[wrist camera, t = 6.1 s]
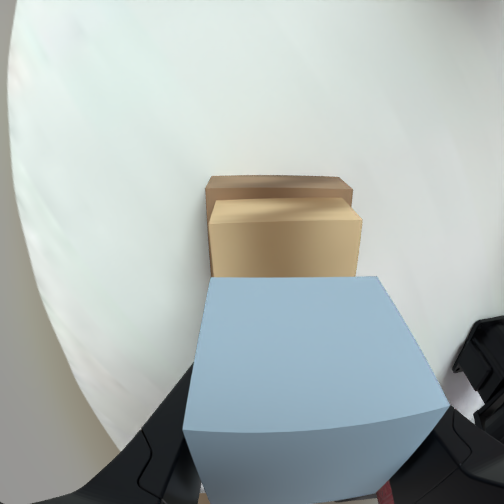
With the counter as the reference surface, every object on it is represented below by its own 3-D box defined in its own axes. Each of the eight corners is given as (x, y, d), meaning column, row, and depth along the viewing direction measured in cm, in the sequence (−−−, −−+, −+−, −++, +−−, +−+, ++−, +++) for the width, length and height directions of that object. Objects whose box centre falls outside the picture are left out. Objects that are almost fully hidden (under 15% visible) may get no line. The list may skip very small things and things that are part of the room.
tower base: (336, 175, 17) (352, 189, 14) (326, 281, 20) (336, 308, 17) (212, 174, 17) (205, 188, 14) (218, 283, 20) (214, 311, 17)
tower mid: (342, 197, 14) (362, 219, 12) (331, 300, 17) (344, 335, 14) (216, 200, 14) (208, 223, 12) (225, 305, 17) (221, 342, 14)
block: (376, 276, 9) (450, 405, 5) (346, 382, 11) (375, 493, 7) (210, 277, 9) (182, 429, 4) (220, 387, 11) (211, 505, 7)
